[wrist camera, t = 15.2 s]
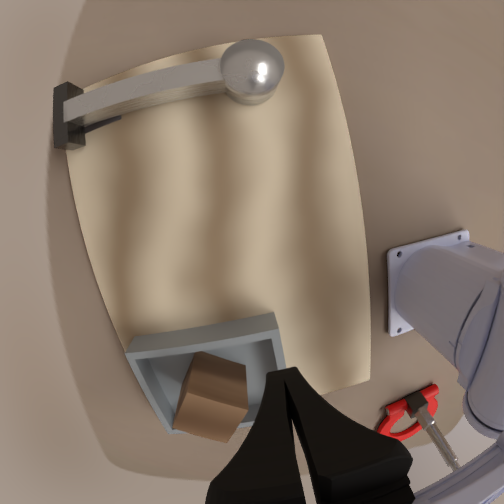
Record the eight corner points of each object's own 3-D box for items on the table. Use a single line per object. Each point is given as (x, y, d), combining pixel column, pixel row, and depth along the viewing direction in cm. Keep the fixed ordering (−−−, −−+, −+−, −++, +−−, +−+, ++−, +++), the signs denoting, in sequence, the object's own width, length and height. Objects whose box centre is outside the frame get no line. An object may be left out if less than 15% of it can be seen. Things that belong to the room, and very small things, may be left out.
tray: (274, 311, 20) (278, 328, 18) (290, 398, 22) (295, 417, 20) (134, 336, 20) (124, 353, 18) (172, 415, 22) (168, 433, 20)
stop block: (196, 349, 20) (187, 392, 15) (245, 365, 21) (248, 410, 16) (181, 384, 21) (172, 427, 16) (227, 398, 21) (226, 443, 17)
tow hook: (427, 421, 27) (439, 377, 25) (467, 485, 15) (497, 450, 12) (373, 445, 28) (377, 405, 25) (405, 520, 15) (425, 497, 12)
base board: (318, 39, 16) (321, 34, 15) (366, 375, 23) (370, 380, 22) (66, 102, 16) (60, 99, 15) (161, 413, 23) (160, 419, 22)
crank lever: (272, 52, 16) (278, 32, 13) (281, 108, 17) (290, 95, 14) (73, 96, 15) (52, 87, 12) (75, 150, 16) (52, 147, 13)
